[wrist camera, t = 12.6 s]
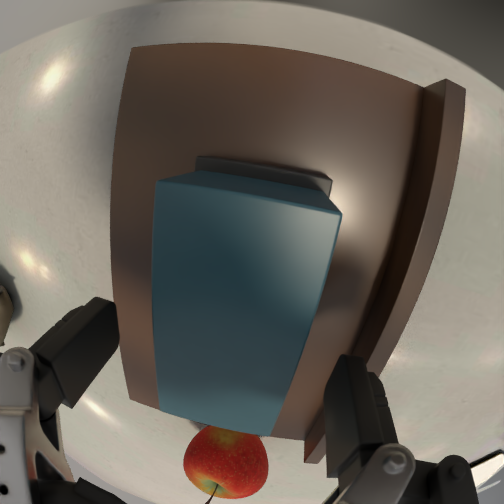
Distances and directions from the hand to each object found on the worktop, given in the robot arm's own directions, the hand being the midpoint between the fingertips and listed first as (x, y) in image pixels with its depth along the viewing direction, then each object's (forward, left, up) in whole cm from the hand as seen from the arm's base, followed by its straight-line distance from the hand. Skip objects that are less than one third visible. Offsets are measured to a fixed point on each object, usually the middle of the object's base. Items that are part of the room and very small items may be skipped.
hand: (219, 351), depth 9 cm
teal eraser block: (0, 0, -4) cm, 4 cm away
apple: (+20, +1, -10) cm, 22 cm away
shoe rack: (0, 0, -10) cm, 10 cm away
